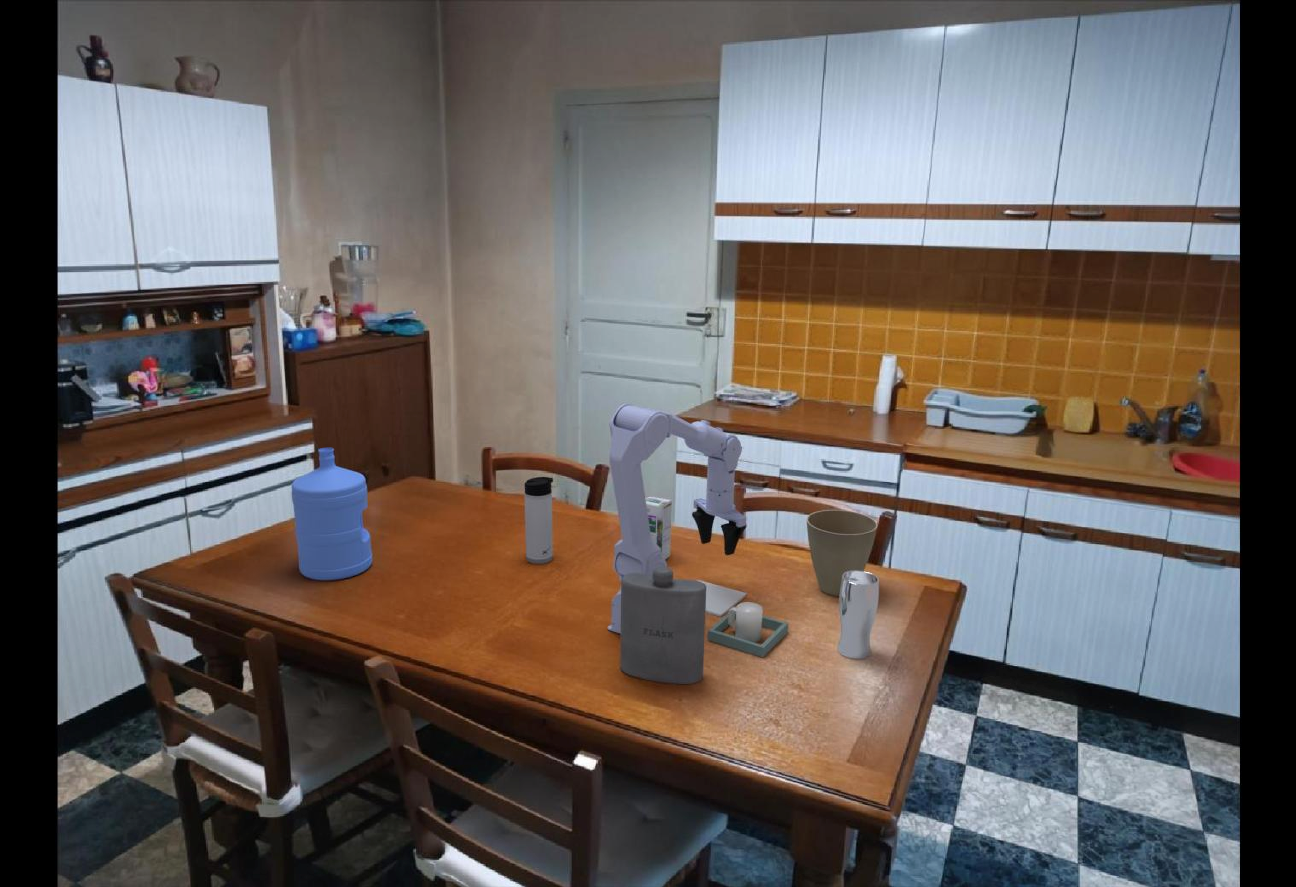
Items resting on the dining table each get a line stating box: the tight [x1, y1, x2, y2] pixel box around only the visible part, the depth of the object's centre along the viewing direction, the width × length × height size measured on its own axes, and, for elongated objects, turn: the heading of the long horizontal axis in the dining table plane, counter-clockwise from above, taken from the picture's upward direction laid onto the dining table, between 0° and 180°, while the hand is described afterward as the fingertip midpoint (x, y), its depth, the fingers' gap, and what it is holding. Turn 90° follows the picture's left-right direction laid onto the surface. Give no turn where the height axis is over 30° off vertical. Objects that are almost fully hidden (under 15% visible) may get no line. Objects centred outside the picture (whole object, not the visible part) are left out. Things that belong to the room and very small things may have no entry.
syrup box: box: [645, 496, 673, 561], centre depth 189 cm, size 6×6×14 cm
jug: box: [728, 601, 764, 643], centre depth 154 cm, size 7×5×6 cm
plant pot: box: [806, 509, 879, 597], centre depth 174 cm, size 15×15×16 cm
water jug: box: [291, 447, 373, 581], centre depth 179 cm, size 16×16×28 cm
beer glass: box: [837, 570, 880, 660], centre depth 148 cm, size 7×7×15 cm
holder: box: [707, 612, 789, 658], centre depth 155 cm, size 12×12×2 cm
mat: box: [697, 579, 747, 618], centre depth 170 cm, size 12×12×1 cm
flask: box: [619, 566, 706, 685], centre depth 139 cm, size 15×6×20 cm, turn 76°
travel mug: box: [524, 476, 554, 565], centre depth 186 cm, size 6×7×20 cm
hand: (717, 548), depth 172 cm, fingers open, 7 cm apart
